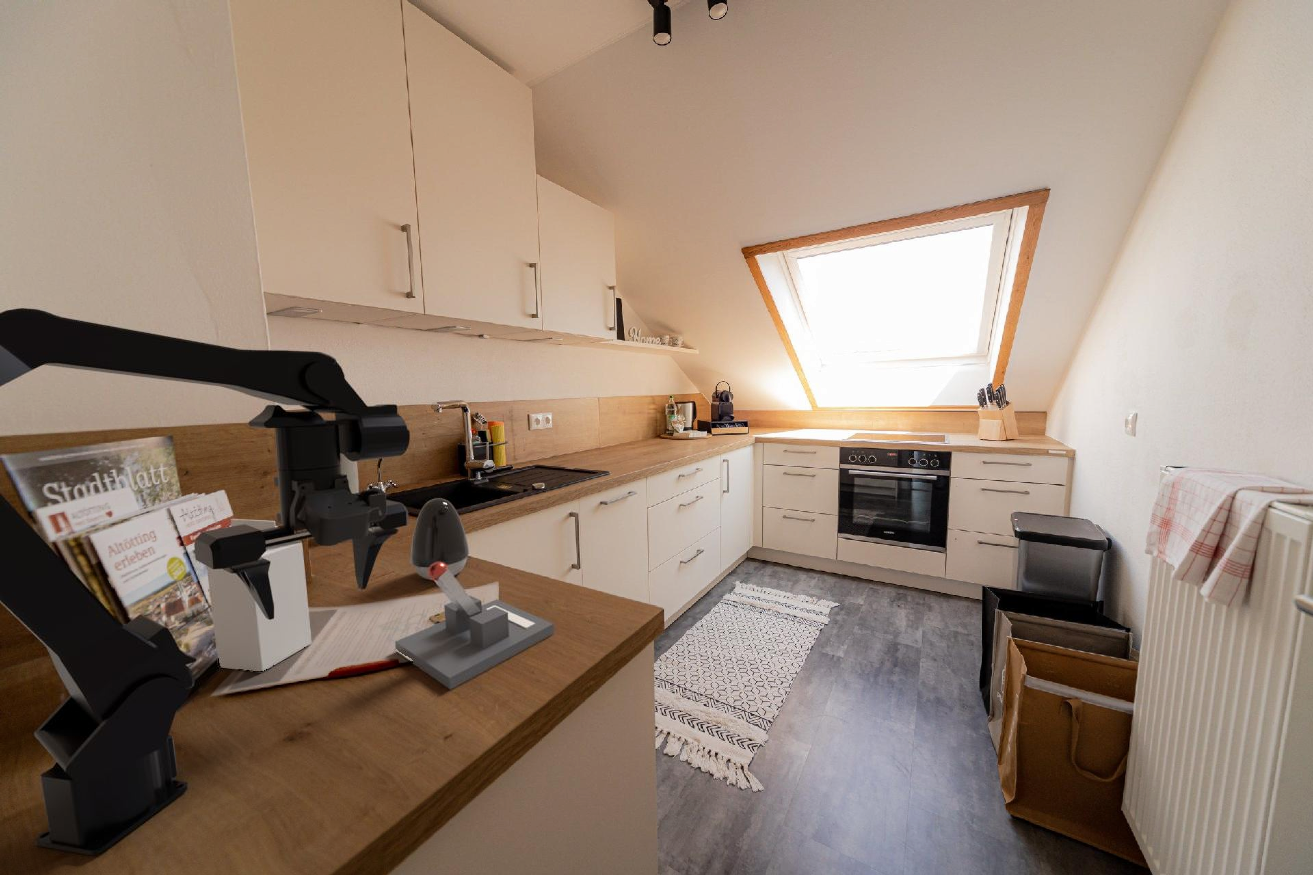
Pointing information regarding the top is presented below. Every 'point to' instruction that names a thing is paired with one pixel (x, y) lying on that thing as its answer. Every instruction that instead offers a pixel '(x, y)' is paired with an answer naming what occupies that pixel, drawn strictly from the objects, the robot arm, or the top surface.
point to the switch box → (473, 641)
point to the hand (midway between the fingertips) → (319, 602)
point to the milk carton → (241, 621)
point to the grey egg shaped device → (439, 538)
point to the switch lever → (453, 590)
